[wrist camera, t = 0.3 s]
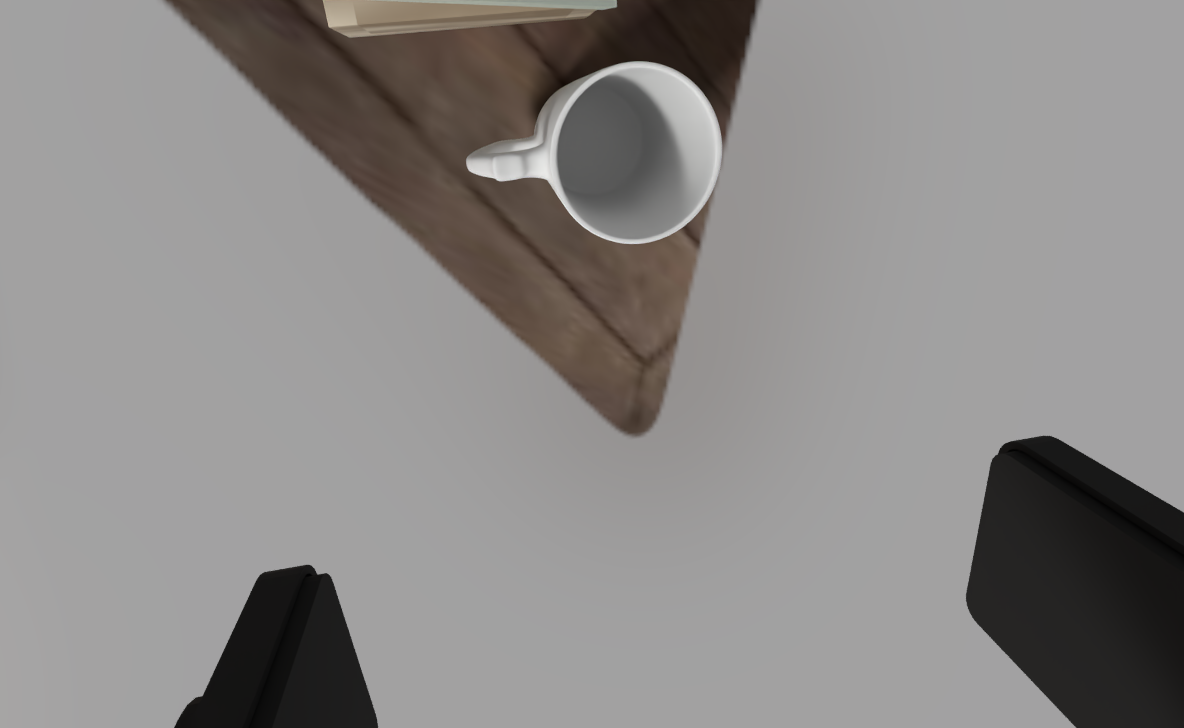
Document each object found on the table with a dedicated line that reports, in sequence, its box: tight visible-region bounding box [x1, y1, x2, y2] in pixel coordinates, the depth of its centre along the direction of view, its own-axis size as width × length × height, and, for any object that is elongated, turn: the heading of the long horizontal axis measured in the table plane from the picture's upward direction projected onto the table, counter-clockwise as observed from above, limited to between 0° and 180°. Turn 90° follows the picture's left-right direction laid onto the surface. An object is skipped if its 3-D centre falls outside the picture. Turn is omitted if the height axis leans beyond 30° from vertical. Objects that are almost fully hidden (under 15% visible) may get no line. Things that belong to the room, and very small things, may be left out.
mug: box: [466, 61, 722, 244], centre depth 30 cm, size 10×7×12 cm, turn 95°
